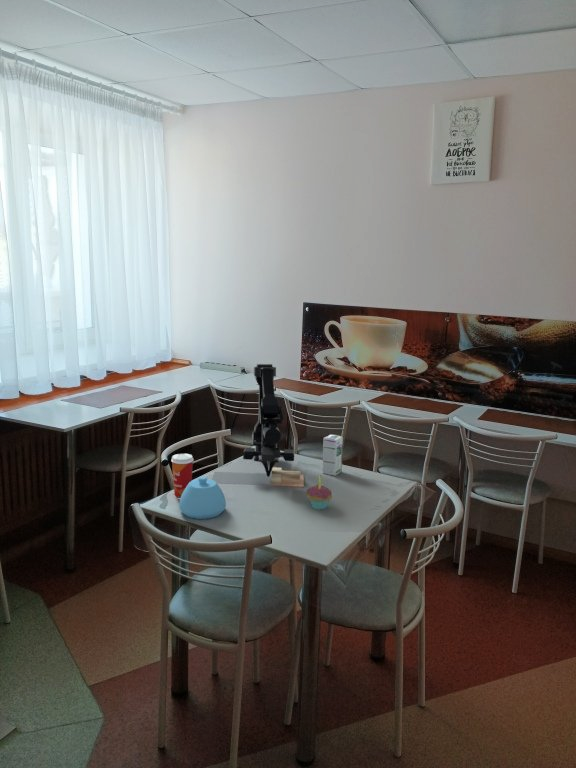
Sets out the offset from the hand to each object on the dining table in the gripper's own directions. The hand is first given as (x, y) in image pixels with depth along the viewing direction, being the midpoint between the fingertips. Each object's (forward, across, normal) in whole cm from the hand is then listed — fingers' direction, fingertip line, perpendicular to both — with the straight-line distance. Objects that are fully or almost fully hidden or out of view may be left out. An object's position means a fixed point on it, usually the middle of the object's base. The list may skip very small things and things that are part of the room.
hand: (268, 476), depth 234 cm
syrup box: (+2, +24, +11) cm, 27 cm away
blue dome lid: (+2, -20, -30) cm, 36 cm away
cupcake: (+2, +18, -23) cm, 29 cm away
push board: (+2, -4, 0) cm, 4 cm away
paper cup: (+2, -29, -17) cm, 34 cm away
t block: (+1, +6, 0) cm, 7 cm away
